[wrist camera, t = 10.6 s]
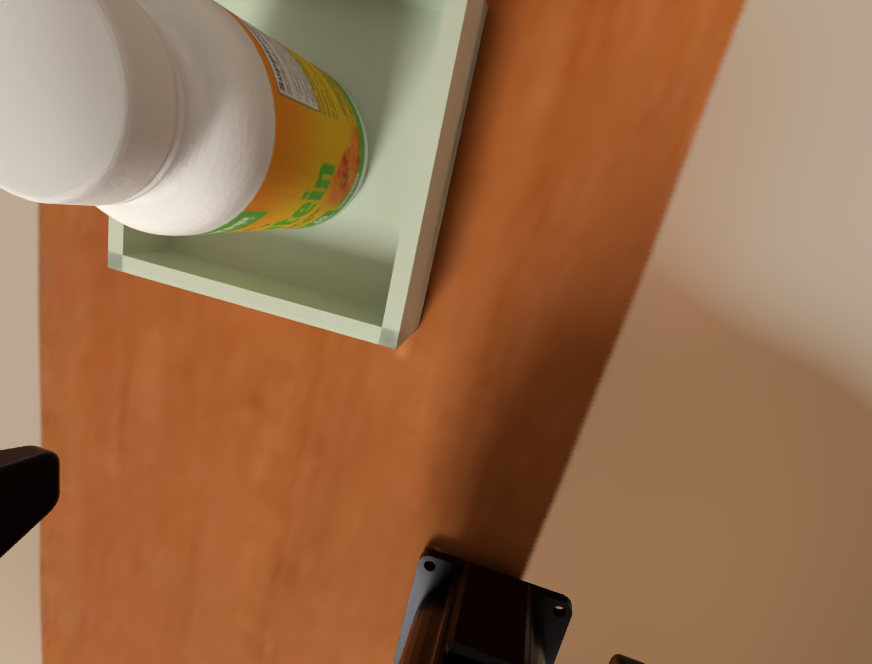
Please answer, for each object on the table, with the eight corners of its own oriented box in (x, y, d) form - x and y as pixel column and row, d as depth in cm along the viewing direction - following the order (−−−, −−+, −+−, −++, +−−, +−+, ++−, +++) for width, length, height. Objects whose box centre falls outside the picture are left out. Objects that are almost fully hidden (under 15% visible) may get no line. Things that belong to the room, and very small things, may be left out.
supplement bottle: (291, 257, 18) (37, 304, 9) (203, 136, 18) (-156, 56, 9) (402, 165, 17) (229, 109, 7) (308, 30, 16) (1, -207, 7)
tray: (418, 328, 19) (395, 349, 16) (168, 259, 20) (107, 267, 18) (487, 7, 16) (475, -38, 13) (187, -44, 17) (117, -94, 15)
